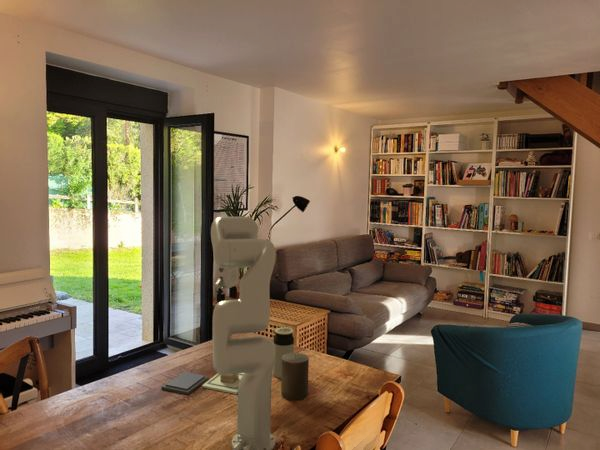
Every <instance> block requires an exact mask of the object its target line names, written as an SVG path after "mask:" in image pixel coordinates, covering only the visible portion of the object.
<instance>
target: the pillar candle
mask: <svg viewBox="0 0 600 450" xmlns="http://www.w3.org/2000/svg"><path fill="white" fill-rule="evenodd" d="M309 358H310V357H309V356H308V355H307V354H304V353H300V352H294V353H289V354H285V355H283V356H282V376H281V378H280V380H281V382H280V383H281V384H280V394H281V397H282V398H284V399H286V400H289V401H301V400H305V399H306V398H307V397H308V395H309V367H310V366H309V360H310V359H309ZM304 398H305V399H304Z"/></svg>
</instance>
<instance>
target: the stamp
mask: <svg viewBox="0 0 600 450" xmlns="http://www.w3.org/2000/svg"><path fill="white" fill-rule="evenodd" d="M237 379H239V373H237V374H227V375H221V376H220V381H221V382H226V383H231V384H233V383H234V382H235V381H236V380H237Z"/></svg>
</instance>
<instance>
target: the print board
mask: <svg viewBox="0 0 600 450" xmlns="http://www.w3.org/2000/svg"><path fill="white" fill-rule="evenodd" d="M243 375H244V373H239V379H237V380H236V381H235V382H234V383H233V384H231V383H226V382H221V381H220V376H221V374H218V373H216V374H215V375H214V376H213V377H211V378H210V379H208V380H207V381H205V382H204V383H203V384H201V388H204V389H208V390H212V391H213V390H214V391H220V392H223V393H227V394H234V395H238V385H239V382H240V380H241V378H242V376H243Z"/></svg>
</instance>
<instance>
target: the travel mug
mask: <svg viewBox="0 0 600 450" xmlns="http://www.w3.org/2000/svg"><path fill="white" fill-rule="evenodd" d="M274 333H275V334H274V337H273V343H274V345H275V360H274V365H273V371H272V376H274V377H275V378H278V379H281V376H282V356H283V355H285V354H289V353H295V350H294V349H295V337H294V336H293V335H294V334H293V333H294V329H293V328H291V327H284V326H281V327H278V328H277V327H276V328H275V329H274Z"/></svg>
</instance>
